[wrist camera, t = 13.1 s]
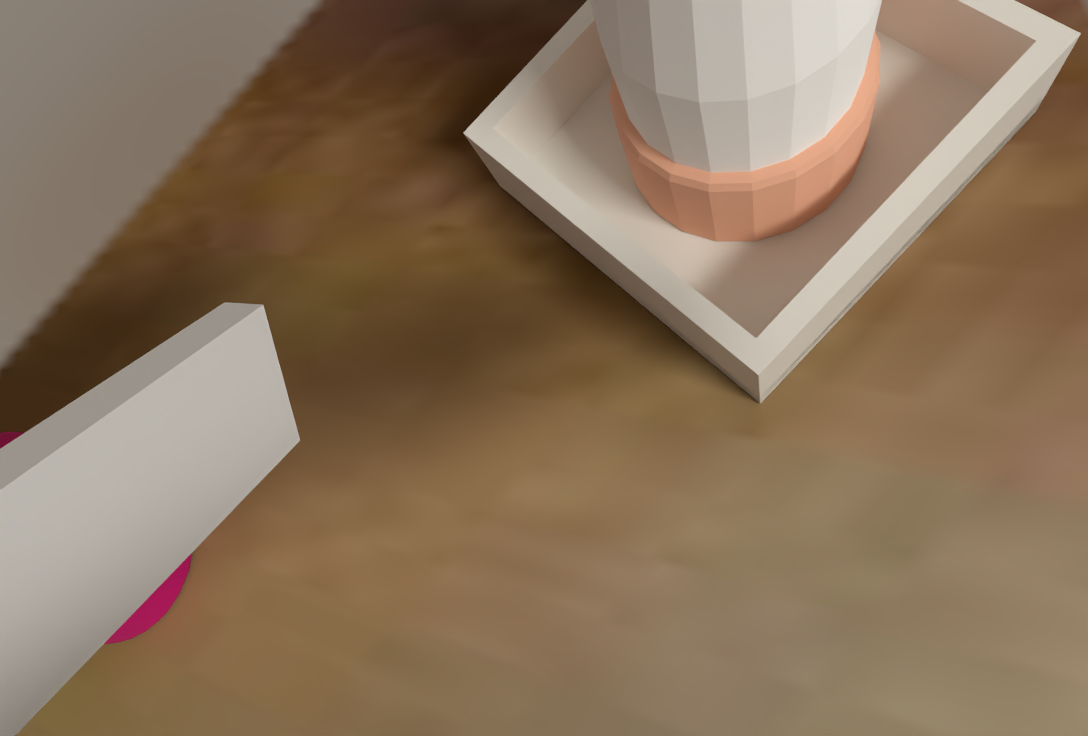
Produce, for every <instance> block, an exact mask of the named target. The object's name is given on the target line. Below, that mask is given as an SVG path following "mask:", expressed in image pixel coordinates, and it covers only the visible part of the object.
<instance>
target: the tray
mask: <svg viewBox="0 0 1088 736" xmlns="http://www.w3.org/2000/svg"><path fill="white" fill-rule="evenodd" d="M875 32H876V34H877V37H878V39H879V42H880V83H879V87H878V92H877V96H876V101H875V105H874V110H873V114H872V118H871V123H870V127H869V132H868V136H867V141H866V145H865V149H864V151H863V154H862V156H861V158H860V161H859V163H858V166H857V168H856V171H855V173H854V176H853V178H852V180H851V182H850V183H849V184H848V185H847V186H846V187H845V189H844V190H843V191H842V192H841V193H840V194H839V196H838V197H837V198H836V199H835V200H834V201H833V202H832V204H831V205H830V206H829V207H828V208H827V209H826V210H825V211H823V212H821V213H820V214H818V215H817V216H815V217H813V218H812V219H810V220H809V221H807V222H806V223H804V224H802V225H801V226H799V227H798V228H796V229H794V230H792V231H789V232H786V233H782V234H779V235H775V236H772V237H768V238H765V239H761V240H758V241H714V240H710V239H707V238H704V237H700V236H697V235H694V234H690V233H687V232H684V231H681V230H680V229H678V228H677V227H676V226H674V225H673V224H671V223H670V222H668V221H667V220H666V219H664V218H663V217H661V216H660V215H658V214H657V213H656V212H654V210H653V209H652V207H651V206H650V205H649V203H648V202H647V200H646V199H645V197H644V196H643V195H642V193H641V192H640V190H639V189H638V187H637V186H636V183H635V180H634V177H633V174H632V172H631V169H630V166H629V163H628V160H627V157H626V154H625V151H624V149H623V146H622V143H621V140H620V137H619V134H618V131H617V127H616V123H615V119H614V115H613V111H612V107H611V103H610V99H609V98H610V89H611V80H612V72H611V69H610V66H609V64H608V61H607V58H606V55H605V53H604V50H603V47H602V45H601V42H600V38H599V34H598V30H597V26H596V22H595V18H594V14H593V10H592V3H591V0H587V1H586V2H585V3H584V4H583V5H582V6H581V7H580V9H579V10H578V11H577V12H576V13H575V14H574V15H573V16H572V17H571V18H570V19H569V20H568V21H567V22H566V24H565V25H564V26H563V27H562V28H561V29H560V30H559V31H558V32H557V33H556V34H555V35H554V36H553V37H552V38H551V40H550V41H549V42H548V43H547V44H546V45H545V46H544V47H543V48H542V49H541V50H540V51H539V52H538V53H537V54H536V56H535V57H534V58H533V59H532V60H531V61H530V62H529V63H528V64H527V65H526V66H525V67H524V68H523V69H522V71H521V72H520V73H519V74H518V75H517V76H516V77H515V78H514V79H513V80H512V81H511V82H510V83H509V84H508V85H507V87H506V88H505V89H504V90H503V91H502V92H501V93H500V94H499V95H498V96H497V97H496V98H495V99H494V100H493V101H492V103H491V104H490V105H489V106H488V107H487V108H486V109H485V110H484V111H483V112H482V113H481V114H480V115H479V116H478V118H477V119H476V120H475V121H474V122H473V123H472V124H471V125H470V126H469V127H468V128H467V129H466V130H465V131H464V132H463V134H464V135H465V136H466V138H467V139H468V141H469V142H470V144H471V145H472V147H473V148H474V149H475V151H476V152H477V154H478V155H479V157H480V158H481V159H482V161H483V162H484V164H485V165H486V167H487V168H488V169H489V171H490V172H491V174H492V175H493V177H494V178H495V180H496V181H497V182H498V184H499V185H500V186H501V187H502V188H503V189H504V190H505V191H507V192H508V193H509V194H510V195H511V196H513V197H514V198H515V199H516V200H517V201H518V202H520V203H521V204H522V205H523V206H524V207H526V208H527V209H528V210H529V211H530V212H532V213H533V214H534V215H535V216H536V217H538V218H539V219H540V220H541V221H542V222H544V223H545V224H546V225H547V226H548V227H550V228H551V229H552V230H553V231H554V232H555V233H557V234H558V235H559V236H560V237H561V238H563V239H564V240H565V241H566V242H567V243H569V244H570V245H571V246H572V247H573V248H575V249H576V250H577V251H578V252H579V253H581V254H582V255H583V256H584V257H585V258H587V259H588V260H589V261H590V262H591V263H593V264H594V265H595V266H596V267H597V268H598V269H600V270H601V271H602V272H603V273H604V274H606V275H607V276H608V277H609V278H610V279H612V280H613V281H614V282H615V283H616V284H618V285H619V286H620V287H621V288H622V289H624V290H625V291H626V292H627V293H628V294H630V295H631V296H632V297H633V298H634V299H635V300H637V301H638V302H639V303H640V304H641V305H643V306H644V307H645V308H646V309H647V310H649V311H650V312H651V313H652V314H653V315H655V316H656V317H657V318H658V319H659V320H661V321H662V322H663V323H664V324H665V325H667V326H668V327H669V328H670V329H671V330H673V331H674V332H675V333H676V334H677V335H678V336H680V337H681V338H682V339H683V340H684V341H686V342H687V343H688V344H689V345H690V346H692V347H693V348H694V349H695V350H696V351H698V352H699V353H700V354H701V355H702V356H704V357H705V358H706V359H707V360H708V361H710V362H711V363H712V364H713V365H714V366H715V367H717V368H718V369H719V370H720V371H721V372H723V373H724V374H725V375H726V376H727V377H729V378H730V379H731V380H732V381H733V382H735V383H736V384H737V385H738V386H739V387H741V388H742V389H743V390H744V391H745V392H747V393H748V394H749V395H750V396H751V397H753V398H754V399H755V400H756V401H757V402H758V403H760V404H761V403H762V402H763V400H764V399H765V398H766V397H767V396H768V395H769V394H770V393H771V392H772V391H773V390H774V389H775V388H776V387H777V386H778V385H779V384H780V382H781V381H782V380H783V379H784V378H785V377H786V376H787V375H788V374H789V373H790V372H791V371H792V370H793V369H794V368H795V367H796V365H797V364H798V363H799V362H800V361H801V360H802V359H803V358H804V357H805V356H806V355H807V354H808V353H809V352H810V351H811V350H812V349H813V347H814V346H815V345H816V344H817V343H818V342H819V341H820V340H821V339H822V338H823V337H824V336H825V335H826V334H827V333H828V332H829V331H830V329H831V328H832V327H833V326H834V325H835V324H836V323H837V322H838V321H839V320H840V319H841V318H842V317H843V316H844V315H845V314H846V312H847V311H848V310H849V309H850V308H851V307H852V306H853V305H854V304H855V303H856V302H857V301H858V300H859V299H860V298H861V297H862V296H863V294H864V293H865V292H866V291H867V290H868V289H869V288H870V287H871V286H872V285H873V284H874V283H875V282H876V281H877V280H878V279H879V277H880V276H881V275H882V274H883V273H884V272H885V271H886V270H887V269H888V268H889V267H890V266H891V265H892V264H893V263H894V262H895V261H896V259H897V258H898V257H899V256H900V255H901V254H902V253H903V252H904V251H905V250H906V249H907V248H908V247H909V246H910V245H911V244H912V243H913V241H914V240H915V239H916V238H917V237H918V236H919V235H920V234H921V233H922V232H923V231H924V230H925V229H926V228H927V227H928V226H929V224H930V223H931V222H932V221H933V220H934V219H935V218H936V217H937V216H938V215H939V214H940V213H941V212H942V211H943V210H944V209H945V208H946V206H947V205H948V204H949V203H950V202H951V201H952V200H953V199H954V198H955V197H956V196H957V195H958V194H959V193H960V192H961V191H962V190H963V188H964V187H965V186H966V185H967V184H968V183H969V182H970V181H971V180H972V179H973V178H974V177H975V176H976V175H977V174H978V173H979V171H980V170H981V169H982V168H983V167H984V166H985V165H986V164H987V163H988V162H989V161H990V160H991V159H992V158H993V157H994V156H995V155H996V153H997V152H998V151H999V150H1000V149H1001V148H1002V147H1003V146H1004V145H1005V144H1006V143H1007V142H1008V141H1009V140H1010V139H1011V138H1012V136H1013V135H1014V134H1015V133H1016V132H1017V131H1018V130H1019V129H1020V128H1021V127H1022V126H1023V125H1024V124H1025V123H1026V122H1027V121H1028V120H1029V118H1030V117H1031V116H1032V115H1033V114H1034V113H1035V112H1036V110H1037V109H1038V107H1039V105H1040V104H1041V102H1042V100H1043V98H1044V97H1045V95H1046V93H1047V91H1048V90H1049V88H1050V86H1051V84H1052V83H1053V81H1054V79H1055V78H1056V76H1057V74H1058V72H1059V71H1060V69H1061V67H1062V65H1063V64H1064V62H1065V60H1066V58H1067V57H1068V55H1069V53H1070V52H1071V50H1072V48H1073V46H1074V45H1075V43H1076V41H1077V39H1078V38H1079V36H1080V34H1081V33H1079V32H1077V31H1075V30H1073V29H1071V28H1069V27H1067V26H1065V25H1063V24H1061V23H1059V22H1057V21H1055V20H1053V19H1051V18H1049V17H1047V16H1045V15H1043V14H1041V13H1039V12H1037V11H1035V10H1033V9H1031V8H1029V7H1027V6H1025V5H1023V4H1021V3H1019V2H1017V1H1015V0H882V3H881V7H880V11H879V15H878V19H877V23H876V28H875Z"/></svg>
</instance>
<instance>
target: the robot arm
mask: <svg viewBox="0 0 1088 736" xmlns="http://www.w3.org/2000/svg"><path fill="white" fill-rule="evenodd" d="M299 441H300V438H299V434H298V431H297V427H296V423H295V420H294V416H293V412H292V409H291V405H290V401H289V398H288V394H287V390H286V387H285V383H284V379H283V376H282V372H281V368H280V364H279V361H278V357H277V353H276V350H275V346H274V342H273V339H272V335H271V331H270V328H269V324H268V320H267V317H266V313H265V309H264V306H263V305H260V304H243V303H227V302H225V303H223V304H221V305H220V306H218V307H217V308H215V309H214V310H212V311H211V312H209V313H208V314H206V315H205V316H203V317H202V318H200V319H198V320H197V321H195V322H194V323H192V324H191V325H189V326H188V327H186V328H185V329H183V330H182V331H180V332H179V333H177V334H175V335H174V336H172V337H171V338H169V339H168V340H166V341H165V342H163V343H162V344H160V345H159V346H157V347H156V348H154V349H152V350H151V351H149V352H148V353H146V354H145V355H143V356H142V357H140V358H139V359H137V360H136V361H134V362H133V363H131V364H129V365H128V366H126V367H125V368H123V369H122V370H120V371H119V372H117V373H116V374H114V375H113V376H111V377H110V378H108V379H106V380H105V381H103V382H102V383H100V384H99V385H97V386H96V387H94V388H93V389H91V390H90V391H88V392H87V393H85V394H83V395H82V396H80V397H79V398H77V399H76V400H74V401H73V402H71V403H70V404H68V405H67V406H65V407H64V408H62V409H60V410H59V411H57V412H56V413H54V414H53V415H51V416H50V417H48V418H47V419H45V420H44V421H42V422H41V423H39V424H37V425H36V426H34V427H33V428H31V429H30V430H28V431H27V432H25V433H24V434H22V435H21V436H19V437H18V438H16V439H15V440H13V441H11V442H10V443H8V444H7V445H5V446H4V447H2V448H1V449H0V736H15V735H16V734H17V733H18V732H19V731H20V730H21V729H22V728H23V727H24V726H25V725H26V724H27V723H28V722H29V721H30V720H31V719H32V718H33V717H34V716H35V715H36V714H37V712H38V711H39V710H40V709H41V708H42V707H43V706H44V705H45V704H46V703H47V702H48V701H49V700H50V699H51V698H52V697H53V696H54V695H55V694H56V693H57V692H58V691H59V690H60V689H61V688H62V687H63V686H64V685H65V683H66V682H67V681H68V680H69V679H70V678H71V677H72V676H73V675H74V674H75V673H76V672H77V671H78V670H79V669H80V668H81V667H82V666H83V665H84V664H85V663H86V662H87V661H88V660H89V659H90V658H91V657H92V656H93V654H94V653H95V652H96V651H97V650H98V649H99V648H100V647H101V646H102V645H103V644H104V643H105V642H106V641H107V640H108V639H109V638H110V637H111V636H112V635H113V634H114V633H115V632H116V631H117V630H118V629H119V628H120V627H121V625H122V624H123V623H124V622H125V621H126V620H127V619H128V618H129V617H130V616H131V615H132V614H133V613H134V612H135V611H136V610H137V609H138V608H139V607H140V606H141V605H142V604H143V603H144V602H145V601H146V600H147V599H148V598H149V597H150V595H151V594H152V593H153V592H154V591H155V590H156V589H157V588H158V587H159V586H160V585H161V584H162V583H163V582H164V581H165V580H166V579H167V578H168V577H169V576H170V575H171V574H172V573H173V572H174V571H175V570H176V569H177V568H178V566H179V565H180V564H181V563H182V562H183V561H184V560H185V559H186V558H187V557H188V556H189V555H190V554H191V553H192V552H193V551H194V550H195V549H196V548H197V547H198V546H199V545H200V544H201V543H202V542H203V541H204V540H205V539H206V537H207V536H208V535H209V534H210V533H211V532H212V531H213V530H214V529H215V528H216V527H217V526H218V525H219V524H220V523H221V522H222V521H223V520H224V519H225V518H226V517H227V516H228V515H229V514H230V513H231V512H232V511H233V510H234V508H235V507H236V506H237V505H238V504H239V503H240V502H241V501H242V500H243V499H244V498H245V497H246V496H247V495H248V494H249V493H250V492H251V491H252V490H253V489H254V488H255V487H256V486H257V485H258V484H259V483H260V482H261V481H262V480H263V478H264V477H265V476H266V475H267V474H268V473H269V472H270V471H271V470H272V469H273V468H274V467H275V466H276V465H277V464H278V463H279V462H280V461H281V460H282V459H283V458H284V457H285V456H286V455H287V454H288V453H289V452H290V451H291V449H292V448H293V447H294V446H295V445H296V444H297V443H298V442H299Z"/></svg>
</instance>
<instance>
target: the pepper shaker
mask: <svg viewBox="0 0 1088 736" xmlns="http://www.w3.org/2000/svg"><path fill="white" fill-rule="evenodd" d="M591 3H592V10H593V14H594V18H595V22H596V26H597V30H598V34H599V38H600V42H601V45H602V47H603V50H604V53H605V55H606V58H607V61H608V64H609V66H610V69H611V72H612V80H611V89H610V98H609V99H610V103H611V107H612V111H613V115H614V119H615V123H616V127H617V131H618V134H619V137H620V140H621V143H622V146H623V149H624V151H625V154H626V157H627V160H628V163H629V166H630V169H631V172H632V174H633V177H634V180H635V183H636V186H637V187H638V189H639V190H640V192H641V193H642V195H643V196H644V197H645V199H646V200H647V202H648V203H649V205H650V206H651V207H652V209H653V210H654V212H656V213H657V214H658V215H660V216H661V217H663V218H664V219H666V220H667V221H668V222H670V223H671V224H673V225H674V226H676V227H677V228H678V229H680V230H681V231H684V232H687V233H690V234H694V235H697V236H700V237H704V238H707V239H710V240H714V241H758V240H761V239H765V238H768V237H772V236H775V235H779V234H782V233H786V232H789V231H792V230H794V229H796V228H798V227H799V226H801V225H802V224H804V223H806V222H807V221H809V220H810V219H812V218H813V217H815V216H817V215H818V214H820V213H821V212H823V211H825V210H826V209H827V208H828V207H829V206H830V205H831V204H832V202H833V201H834V200H835V199H836V198H837V197H838V196H839V194H840V193H841V192H842V191H843V190H844V189H845V187H846V186H847V185H848V184H849V183H850V182H851V180H852V178H853V176H854V173H855V171H856V168H857V166H858V163H859V161H860V158H861V156H862V154H863V151H864V149H865V145H866V141H867V136H868V132H869V127H870V123H871V118H872V114H873V110H874V105H875V101H876V96H877V92H878V87H879V83H880V42H879V39H878V37H877V34H876V32H875V28H876V23H877V19H878V15H879V11H880V7H881V3H882V0H591Z"/></svg>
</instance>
